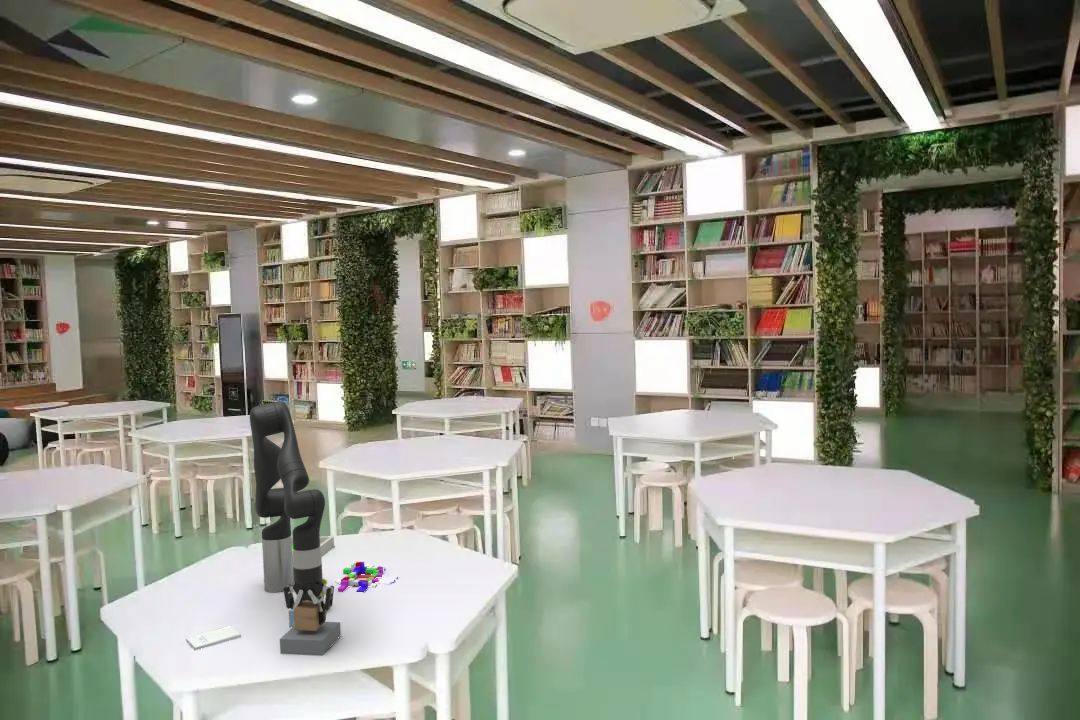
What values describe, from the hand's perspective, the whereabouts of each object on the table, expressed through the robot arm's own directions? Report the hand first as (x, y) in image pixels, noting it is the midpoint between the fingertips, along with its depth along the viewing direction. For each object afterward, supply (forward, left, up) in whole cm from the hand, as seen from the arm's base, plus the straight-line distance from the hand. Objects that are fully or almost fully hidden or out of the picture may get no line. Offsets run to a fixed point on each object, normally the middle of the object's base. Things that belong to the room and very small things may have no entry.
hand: (310, 623), depth 211 cm
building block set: (-51, -3, -7) cm, 52 cm away
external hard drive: (-1, -29, -7) cm, 30 cm away
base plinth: (0, 0, -6) cm, 6 cm away
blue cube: (-13, -9, -6) cm, 17 cm away
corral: (-76, -38, -6) cm, 85 cm away
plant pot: (-23, -10, -6) cm, 26 cm away
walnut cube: (0, 0, -1) cm, 1 cm away
